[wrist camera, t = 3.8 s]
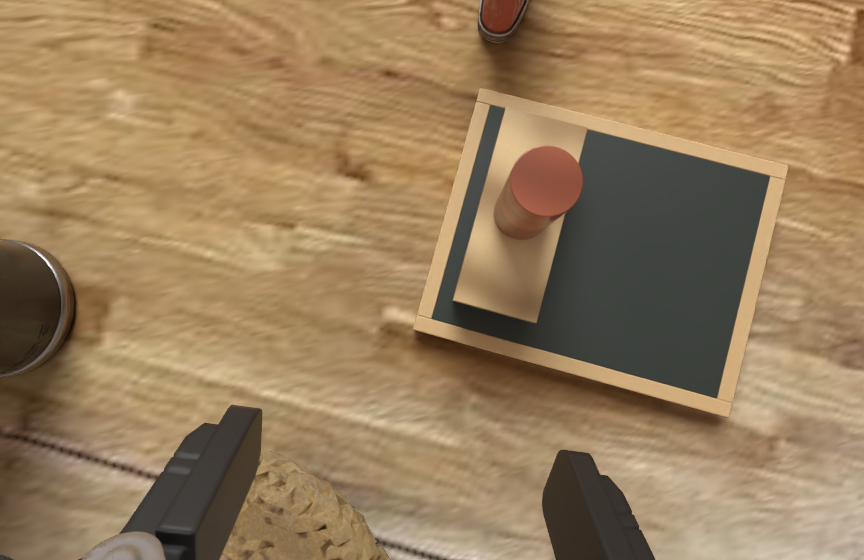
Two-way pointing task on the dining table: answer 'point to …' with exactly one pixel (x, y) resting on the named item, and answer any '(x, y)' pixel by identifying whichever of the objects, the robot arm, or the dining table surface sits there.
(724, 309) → the board
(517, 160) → the eraser
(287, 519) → the sponge
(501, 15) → the lighter
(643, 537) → the robot arm
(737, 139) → the dining table surface
